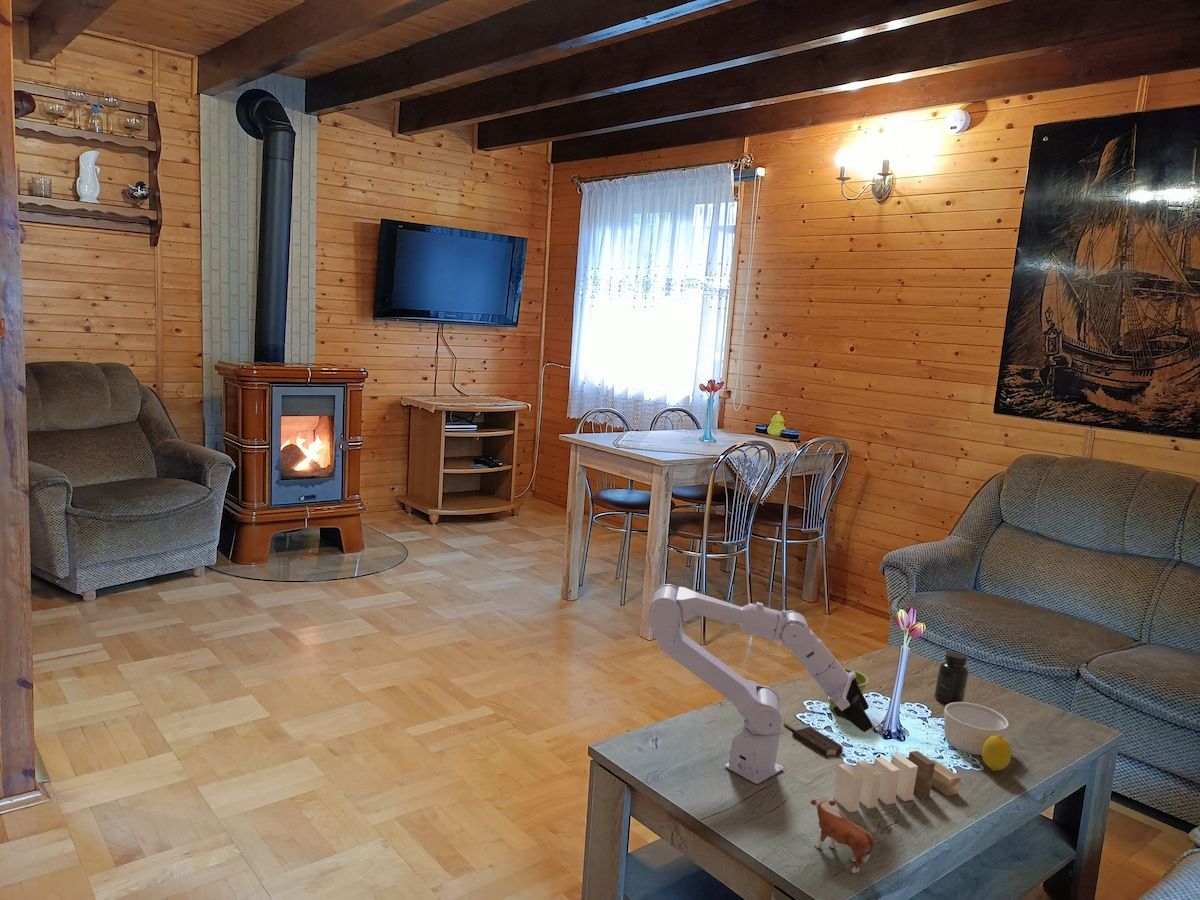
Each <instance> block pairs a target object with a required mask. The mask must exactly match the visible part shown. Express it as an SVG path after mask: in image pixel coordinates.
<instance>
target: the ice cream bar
mask: <svg viewBox="0 0 1200 900" xmlns="http://www.w3.org/2000/svg"><path fill="white" fill-rule="evenodd" d="M783 725H784V726H785V727H787V728H789V729H790V730H792V731H793V732H792V737H793V738H795V739H796V740H797V741H799V742H801V744H804V745H806V746H807V747H809V748H810V749H812V750H813V751H815V752H817V753H818V754H819V755H820V756H821V755H822V756H824V757H825V758H826V757H827V756H830V755H833V756H836V757H837V756H840V754H841V753H842V754H843V749H844V747H843V746H842V744H840V743H838V742H837V741H834V740H833V739H831V738H830V737H828V736H826V735H825V734H823V733H821V732H820V731H818V730H817V729H815V728H814V727H812V726H808V727H804V728H801V727H799V726H798V725H796V724H795V723H793V722H792V721H789V720H785V721H783ZM842 754H841V755H842Z"/></svg>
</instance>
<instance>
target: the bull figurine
mask: <svg viewBox="0 0 1200 900" xmlns="http://www.w3.org/2000/svg"><path fill="white" fill-rule="evenodd" d="M810 804H811V805H812V806H814V807H815V808H816V809H817V810H816V813H817V816H818V825H819V828H820V836H819V838H818V839H819V840H818V841H817V843H815V844H814V846H813V847H814V848H816V849H823V843H824V842H825V841H826V838H830V839H831V842H830V844H828V847H829V848H830V849H834V848H837V845H836V843H837V844H839V845H840V846H842V847H843V850H847V849H848V848H850V849H851V850H852V852H853V856H852V857H850V858H849V859H850V861H851V862H852V863H855V866H854V867H852V869H851V870H850V873H852V874H856V873H859V872H860V868H861V865H862V864H863V863H866V862H868V860H869V858H870V856H871V853H872V852H873V851H874V848H875V842H874V836H873V835H872V834H871V833H870V832H868V831H867V830H865V829H864V827H862V826H860V825H858V824H856V823H854V822H852V820H849V818H847V817H845V816H844V815H843V814H842V813H841V812H840V811H839V810H837V809H835V808H834V806H835V805H836V800H828V797H826V795H819V796H816V797H815V799H811V801H810ZM867 850H868V851H867Z"/></svg>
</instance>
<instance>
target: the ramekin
mask: <svg viewBox="0 0 1200 900" xmlns="http://www.w3.org/2000/svg"><path fill="white" fill-rule="evenodd" d="M943 716H944V729H943V732H944V733H943V734H944V736H945V738H946V740H947V742H948V741H949V742H950V743H951V744H952V745H951V744H950V743H949V742H948V743H949V744H950V745H951V746H953V745H954V746H955V747H954V746H953V747H954V748H956V747H957V748H959V749H961V750H963V751H962V752H964V751H966V752H965V753H967V752H968V753H967V754H970V753H971V755H974V754H975V755H974V756H979V755H981V757H982V749H983V745H984V743H985V741H986V740H987V739H988V738H989V737H991V736H998V735H1001V736H1002V737H1003V738H1004V739H1005V737H1006V733H1007V732H1008V730H1009V721H1008V719H1007V718H1006V717H1005V716H1004V715H1002V714H1001V713H999V712H997V710H995V709H992V708H989V707H988V706H984V705H981V704H978V703H972V702H966V701H964V702H954V703H950V704H948V705H947V704H945V706H944V709H943ZM957 748H956V749H957ZM959 749H958V750H959ZM961 750H960V751H961Z"/></svg>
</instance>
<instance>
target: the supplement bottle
mask: <svg viewBox="0 0 1200 900" xmlns="http://www.w3.org/2000/svg"><path fill="white" fill-rule="evenodd" d="M967 659H968V657H967V656H966V654H963V653H961V652H958V651H947V652H946V653H945V658H944V661H943V662H941V663H940V664H939V668H938V672H937V673H938V674H937V679H936V683H935V684H936V685H935V689H934V690H935V691H934V697H935V699H936V701H938V702H939V703H942V704H944V705H948V704H950V703H954V702H965V698H966V697H965V696H966V691H967V685H968V681H969V680H968V679H969V674H970V672H969V669H968V667H967V666H966V665H967V661H968V660H967Z"/></svg>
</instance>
